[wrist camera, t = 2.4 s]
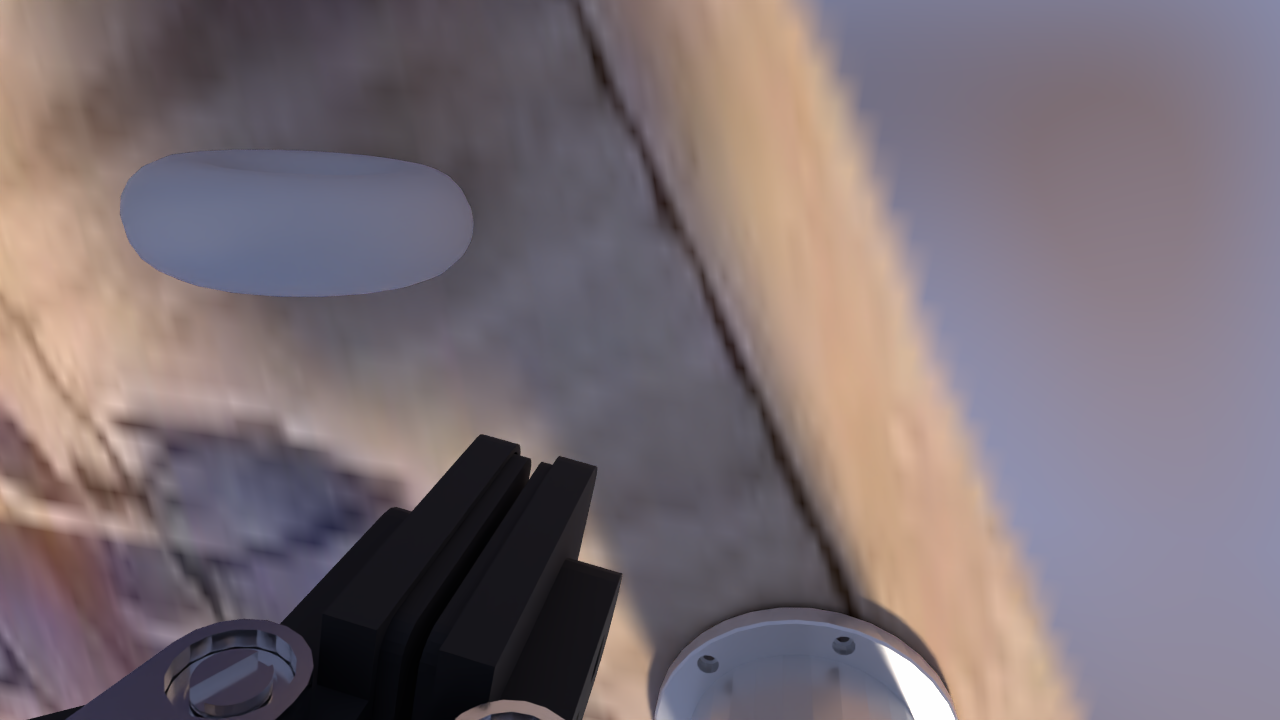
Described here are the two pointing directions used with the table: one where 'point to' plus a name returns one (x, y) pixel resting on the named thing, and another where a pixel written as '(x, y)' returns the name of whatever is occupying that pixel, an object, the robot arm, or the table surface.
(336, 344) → the table surface
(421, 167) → the donut
